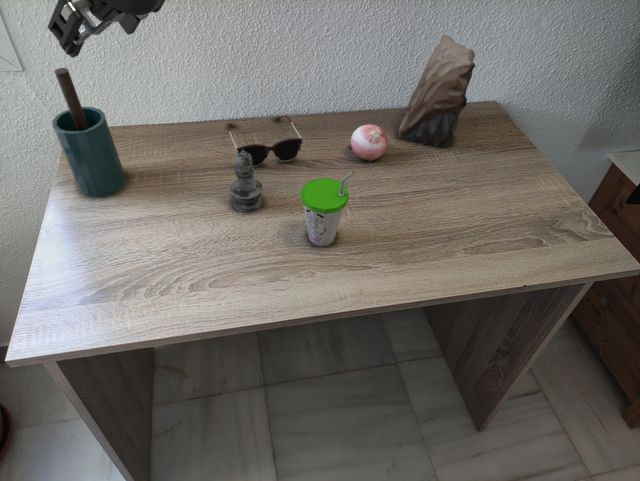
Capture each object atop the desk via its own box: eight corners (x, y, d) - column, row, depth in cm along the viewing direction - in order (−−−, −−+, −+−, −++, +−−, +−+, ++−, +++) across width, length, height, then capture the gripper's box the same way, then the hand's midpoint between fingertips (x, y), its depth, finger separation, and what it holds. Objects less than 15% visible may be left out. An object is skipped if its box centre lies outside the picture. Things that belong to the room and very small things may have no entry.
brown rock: (416, 112, 113) (435, 28, 99) (466, 130, 109) (493, 44, 94) (394, 137, 106) (411, 50, 91) (447, 156, 101) (473, 68, 87)
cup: (290, 240, 82) (290, 172, 71) (316, 216, 87) (319, 148, 76) (327, 260, 79) (333, 193, 68) (351, 234, 84) (361, 166, 73)
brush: (90, 189, 88) (45, 79, 72) (89, 175, 91) (46, 66, 75) (115, 184, 89) (76, 75, 73) (113, 170, 92) (76, 62, 76)
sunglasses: (238, 169, 95) (236, 148, 92) (224, 130, 106) (221, 110, 103) (303, 159, 98) (303, 138, 95) (283, 122, 109) (282, 102, 106)
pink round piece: (358, 169, 97) (362, 140, 92) (342, 148, 102) (344, 119, 96) (391, 161, 99) (397, 132, 94) (374, 141, 104) (378, 112, 99)
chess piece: (257, 189, 91) (253, 136, 82) (268, 208, 88) (265, 155, 79) (227, 196, 89) (221, 144, 80) (237, 216, 86) (231, 163, 77)
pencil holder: (80, 201, 87) (52, 137, 76) (78, 174, 92) (52, 110, 82) (127, 192, 89) (106, 128, 79) (123, 166, 94) (103, 103, 84)
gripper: (168, -93, 50) (123, -5, 63) (48, -66, 42) (24, 29, 54) (211, -27, 52) (159, 46, 65) (105, 10, 44) (69, 86, 56)
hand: (97, 38), depth 59 cm, fingers open, 8 cm apart
